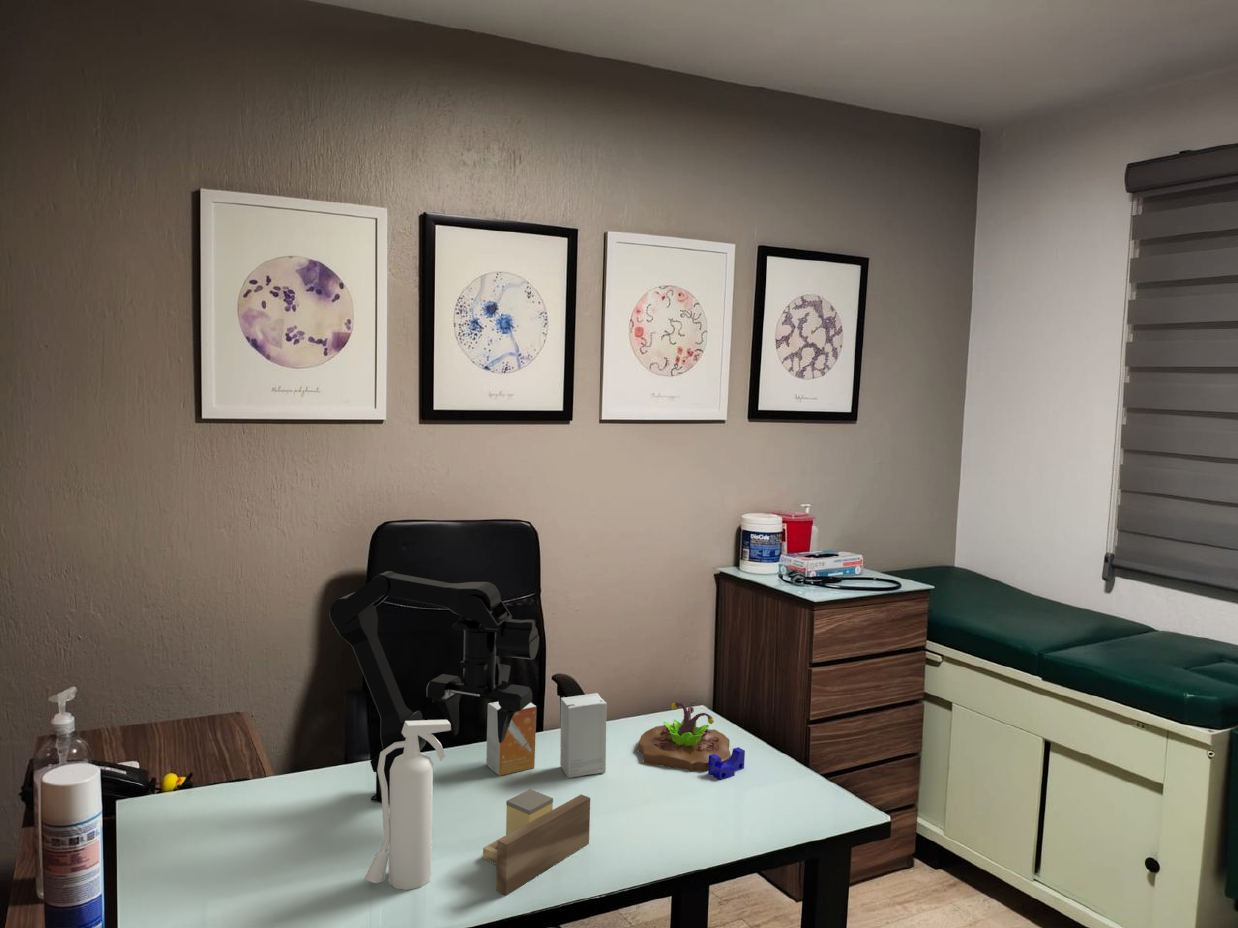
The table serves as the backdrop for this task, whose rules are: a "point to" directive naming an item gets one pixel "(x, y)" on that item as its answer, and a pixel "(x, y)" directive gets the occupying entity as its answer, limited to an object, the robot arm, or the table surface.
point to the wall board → (540, 844)
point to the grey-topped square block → (526, 809)
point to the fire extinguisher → (408, 809)
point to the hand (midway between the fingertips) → (478, 738)
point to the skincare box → (583, 735)
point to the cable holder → (726, 764)
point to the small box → (511, 741)
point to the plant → (683, 743)
